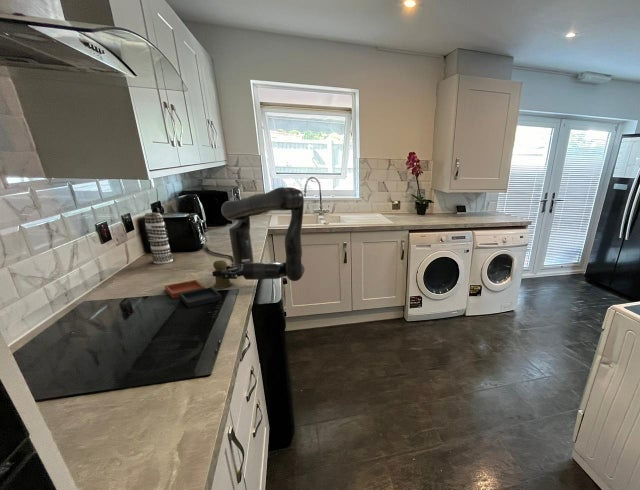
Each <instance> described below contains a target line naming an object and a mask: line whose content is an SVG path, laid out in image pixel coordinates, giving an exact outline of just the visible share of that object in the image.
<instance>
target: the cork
mask: <svg viewBox="0 0 640 490" xmlns="http://www.w3.org/2000/svg"><path fill="white" fill-rule="evenodd" d="M227 266H228V263H227V261H225V260H215V261H214V262H213V263H212V267H213V269H214V271H227V270H226V267H227ZM225 275H227V274H225ZM214 277H215V288H219V289H221V288H222V289H223V288H228V287H231V286H232V283H231V279H222V276H214Z"/></svg>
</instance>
